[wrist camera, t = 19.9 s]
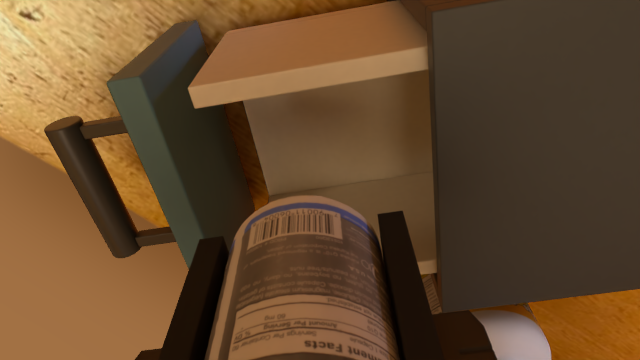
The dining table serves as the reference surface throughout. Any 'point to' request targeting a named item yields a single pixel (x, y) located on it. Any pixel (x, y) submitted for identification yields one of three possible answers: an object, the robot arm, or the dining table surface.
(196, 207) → the teal drawer
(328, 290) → the pill bottle
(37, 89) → the dining table surface
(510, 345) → the supplement bottle
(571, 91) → the drawer cabinet
